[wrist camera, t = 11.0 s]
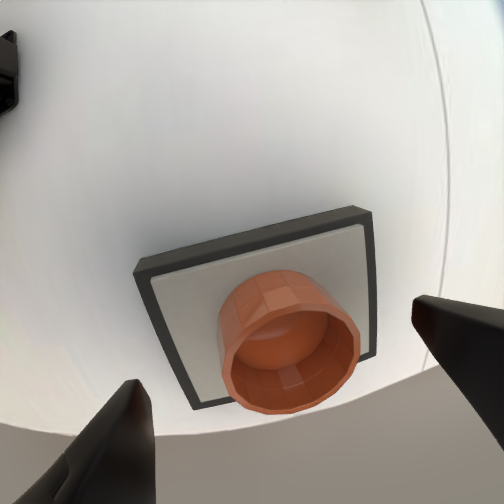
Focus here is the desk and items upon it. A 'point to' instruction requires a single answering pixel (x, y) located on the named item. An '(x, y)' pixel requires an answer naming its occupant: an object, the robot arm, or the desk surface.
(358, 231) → the scale
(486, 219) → the desk surface
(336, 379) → the bowl
